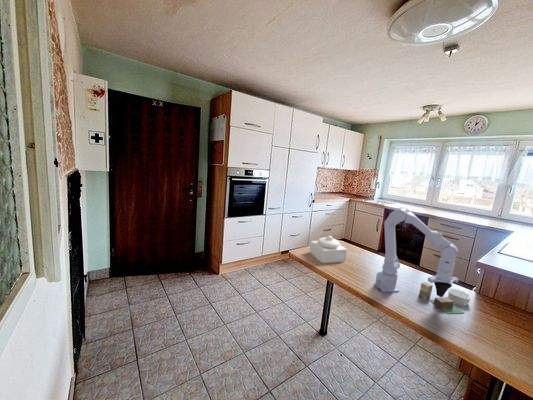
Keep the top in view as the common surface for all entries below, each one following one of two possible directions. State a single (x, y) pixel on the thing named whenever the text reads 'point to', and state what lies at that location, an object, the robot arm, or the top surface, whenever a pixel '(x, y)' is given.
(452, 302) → the walnut block
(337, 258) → the white lidded box
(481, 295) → the top surface
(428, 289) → the maple block
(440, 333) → the top surface
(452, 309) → the mat
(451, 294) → the ramekin
